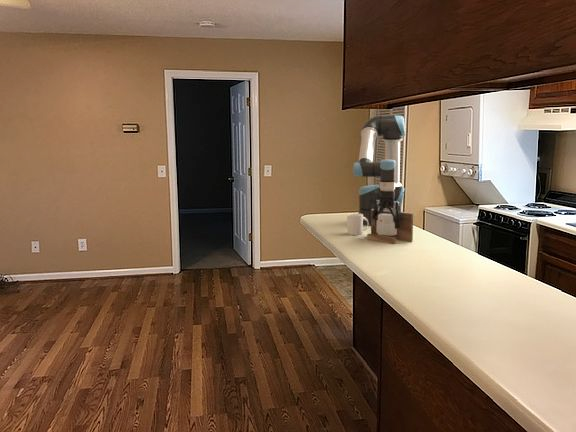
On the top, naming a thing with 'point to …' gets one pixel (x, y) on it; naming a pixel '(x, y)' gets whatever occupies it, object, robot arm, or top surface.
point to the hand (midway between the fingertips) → (386, 233)
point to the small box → (385, 224)
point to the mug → (355, 224)
